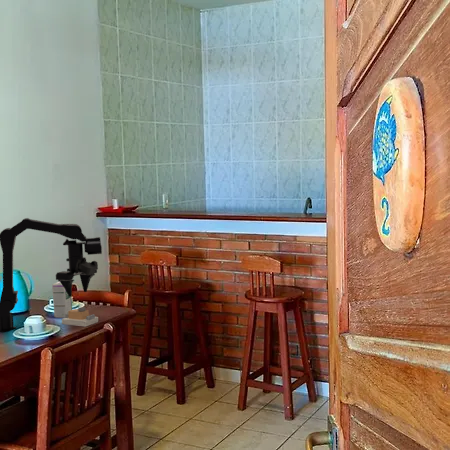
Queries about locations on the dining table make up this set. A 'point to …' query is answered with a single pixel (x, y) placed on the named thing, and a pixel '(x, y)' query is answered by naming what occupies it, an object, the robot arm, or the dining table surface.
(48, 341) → the dining table surface
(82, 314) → the housing
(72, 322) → the stand
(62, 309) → the syrup box
